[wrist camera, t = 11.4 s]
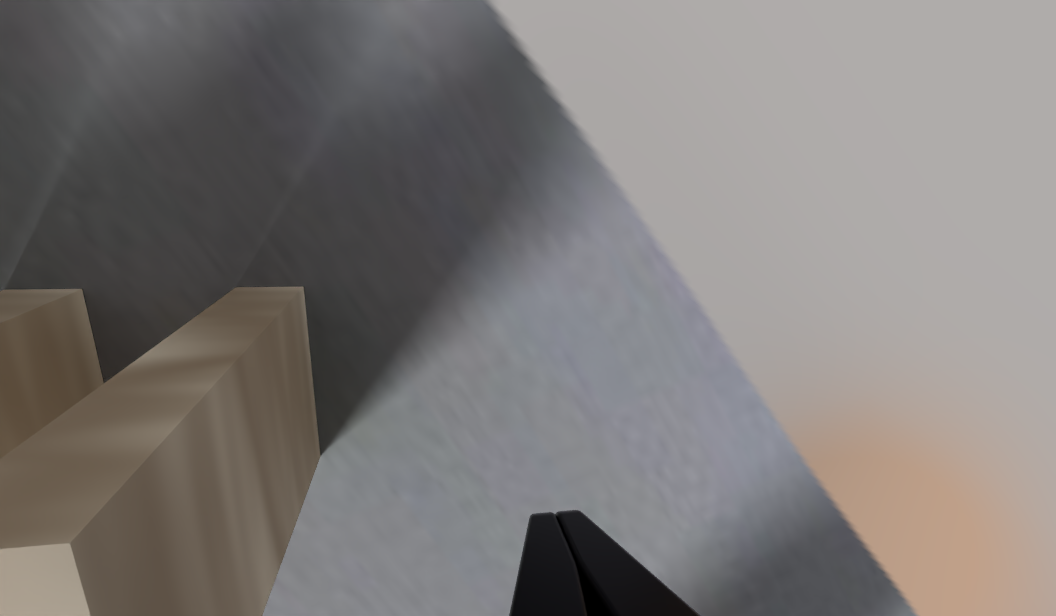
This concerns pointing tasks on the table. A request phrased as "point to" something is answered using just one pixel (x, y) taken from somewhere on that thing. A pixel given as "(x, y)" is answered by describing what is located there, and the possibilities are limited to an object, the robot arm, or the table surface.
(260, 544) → the domino
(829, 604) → the table surface
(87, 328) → the domino
